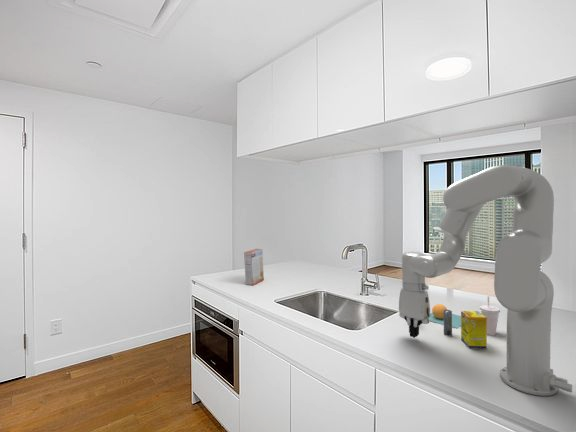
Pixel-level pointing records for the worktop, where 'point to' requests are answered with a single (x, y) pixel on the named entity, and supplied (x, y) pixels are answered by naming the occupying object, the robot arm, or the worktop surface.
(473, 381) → the worktop surface
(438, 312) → the ball
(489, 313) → the smoothie
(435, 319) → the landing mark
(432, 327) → the worktop surface
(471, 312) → the supplement box
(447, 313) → the post right
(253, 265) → the cracker box
